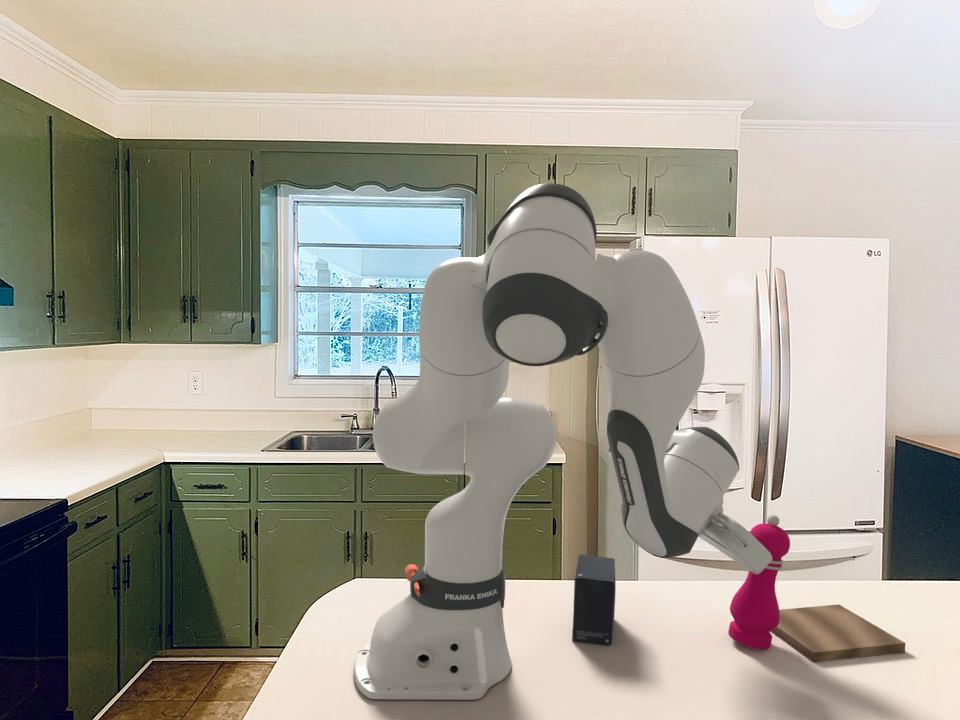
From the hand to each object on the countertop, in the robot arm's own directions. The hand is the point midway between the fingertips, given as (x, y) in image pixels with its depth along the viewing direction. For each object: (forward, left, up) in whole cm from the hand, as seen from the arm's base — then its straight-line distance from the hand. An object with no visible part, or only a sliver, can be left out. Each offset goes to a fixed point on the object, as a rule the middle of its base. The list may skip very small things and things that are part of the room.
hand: (749, 564), depth 105 cm
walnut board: (+15, 0, -13) cm, 19 cm away
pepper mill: (+1, 0, -12) cm, 12 cm away
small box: (-21, +9, -13) cm, 27 cm away
